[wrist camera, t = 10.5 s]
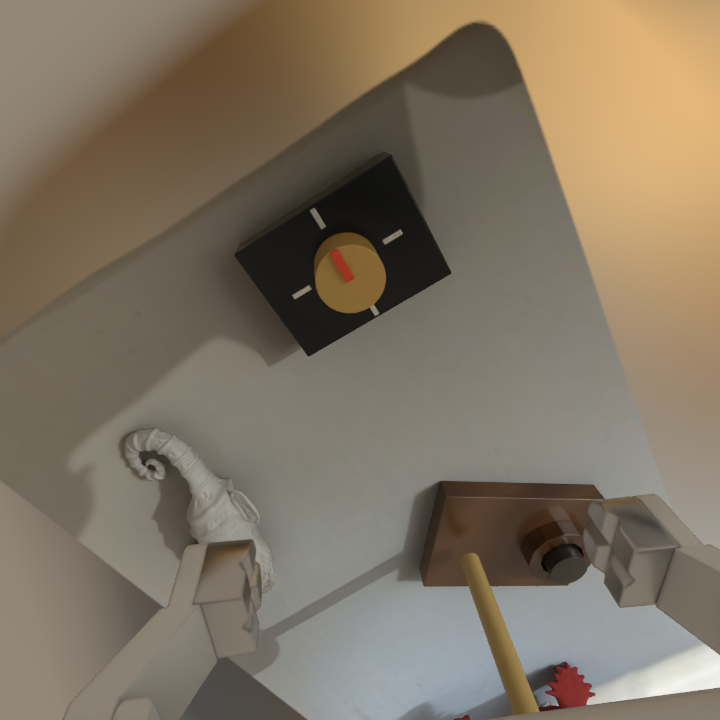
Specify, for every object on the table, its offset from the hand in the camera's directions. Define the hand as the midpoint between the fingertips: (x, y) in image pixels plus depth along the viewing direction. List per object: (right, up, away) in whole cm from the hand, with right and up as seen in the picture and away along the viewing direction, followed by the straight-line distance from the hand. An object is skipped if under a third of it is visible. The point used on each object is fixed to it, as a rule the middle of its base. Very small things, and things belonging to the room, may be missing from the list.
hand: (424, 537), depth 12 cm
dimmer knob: (-3, +11, +21) cm, 24 cm away
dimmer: (-3, +12, +24) cm, 27 cm away
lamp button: (+18, -15, +36) cm, 43 cm away
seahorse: (-15, -9, +33) cm, 38 cm away
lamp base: (+13, -13, +39) cm, 43 cm away
